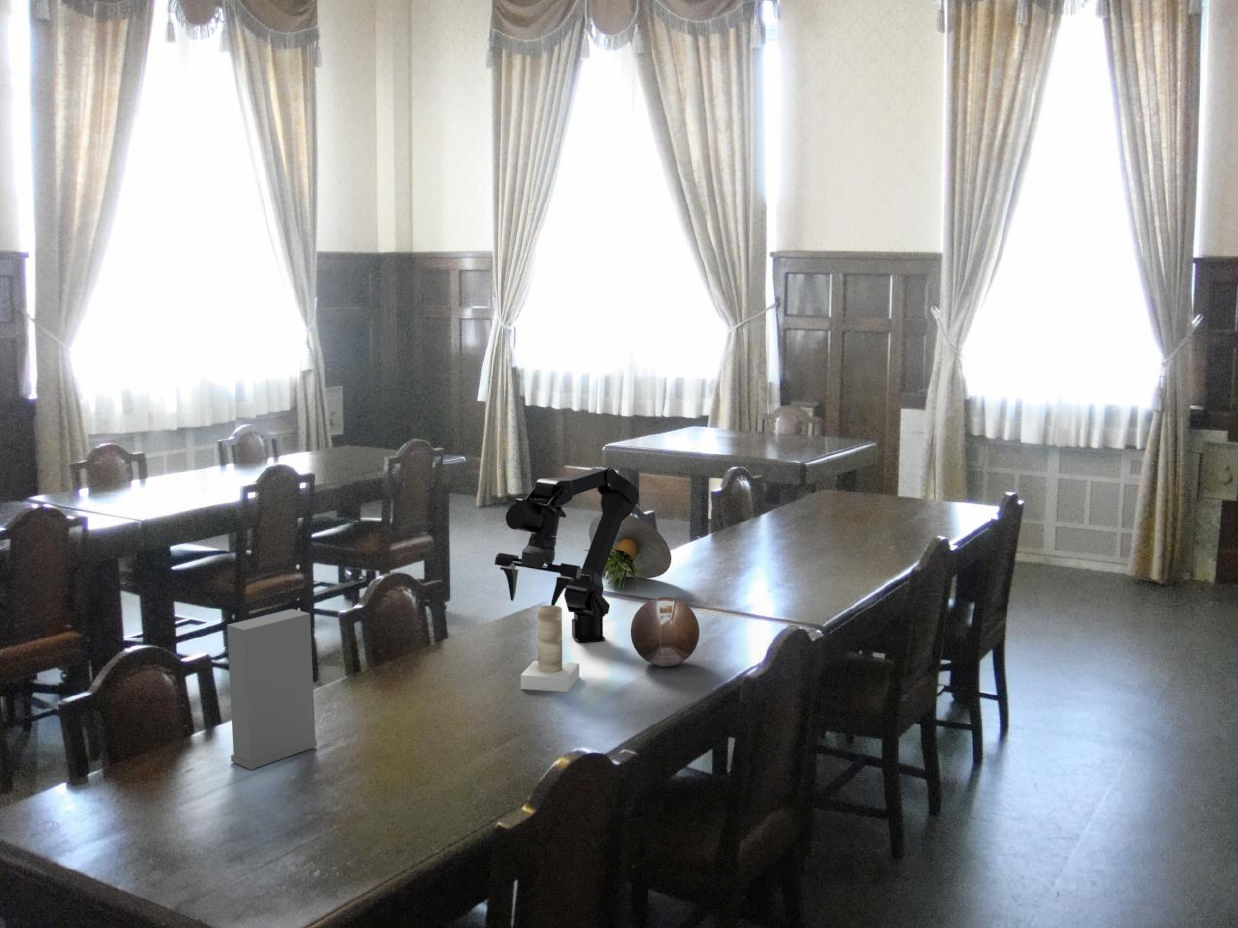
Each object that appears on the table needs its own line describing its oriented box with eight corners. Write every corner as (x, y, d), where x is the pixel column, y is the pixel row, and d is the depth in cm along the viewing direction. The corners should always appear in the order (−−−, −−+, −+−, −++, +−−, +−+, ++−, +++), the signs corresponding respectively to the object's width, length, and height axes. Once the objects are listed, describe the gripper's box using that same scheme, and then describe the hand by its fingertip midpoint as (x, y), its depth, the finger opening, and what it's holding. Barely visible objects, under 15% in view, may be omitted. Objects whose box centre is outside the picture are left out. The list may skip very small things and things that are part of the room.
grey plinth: (534, 674, 266) (533, 660, 265) (579, 677, 264) (579, 663, 263) (520, 688, 256) (520, 674, 256) (567, 692, 254) (567, 677, 254)
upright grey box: (296, 740, 228) (290, 607, 225) (316, 747, 224) (311, 613, 221) (230, 762, 218) (223, 624, 214) (250, 770, 214) (243, 630, 210)
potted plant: (579, 603, 353) (554, 551, 335) (606, 555, 361) (583, 502, 344) (656, 625, 341) (634, 572, 323) (682, 575, 350) (663, 521, 332)
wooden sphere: (641, 678, 263) (641, 609, 261) (622, 657, 277) (622, 592, 275) (708, 672, 267) (709, 604, 265) (686, 652, 281) (686, 587, 279)
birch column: (549, 663, 263) (548, 604, 261) (567, 668, 260) (566, 608, 258) (533, 669, 259) (532, 609, 257) (551, 674, 256) (550, 613, 254)
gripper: (494, 526, 271) (482, 597, 269) (577, 540, 267) (565, 611, 266) (506, 528, 281) (495, 597, 280) (586, 542, 278) (575, 611, 277)
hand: (531, 604), depth 276 cm, fingers open, 9 cm apart
